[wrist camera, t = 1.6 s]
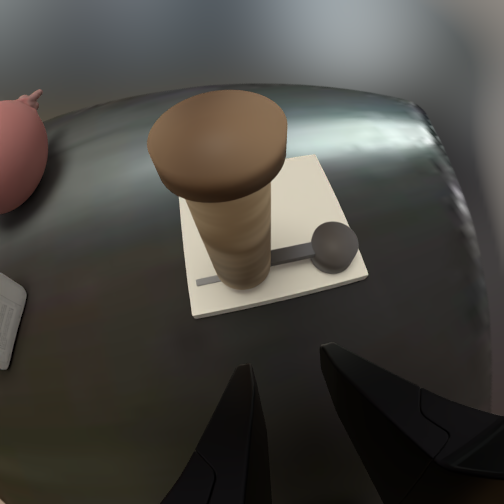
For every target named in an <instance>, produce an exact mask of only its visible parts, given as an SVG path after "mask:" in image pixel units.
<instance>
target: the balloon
mask: <svg viewBox="0 0 504 504" xmlns="http://www.w3.org/2000/svg"><path fill="white" fill-rule="evenodd" d="M42 92H43V91H42V90H41V89H39V90H37V91H35V92H33V94H31V95H30V96H27V95H22V96H20V97H19V99H18V100H14V101H10V100H7V101H0V214H4V213H7V212H10V211H12V210H14V209H16V208H17V207H19V206H20V205H21V204H23V203H24V202H25V201H26V200H27V199H28V198H29V197H30V196H31V194H32V193H33V192H34V190H35V189H36V187H37V186H38V184H39V182H40V180H41V178H42V176H43V173H44V170H45V167H46V163H47V157H48V139H47V134H46V130H45V127H44V125H43V122H42V120H41V119H40V117H39V116H38V113H37V109H38V107H39V104H38V102H37V99H38V98H39V97H40V96H41V95H42Z"/></svg>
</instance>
